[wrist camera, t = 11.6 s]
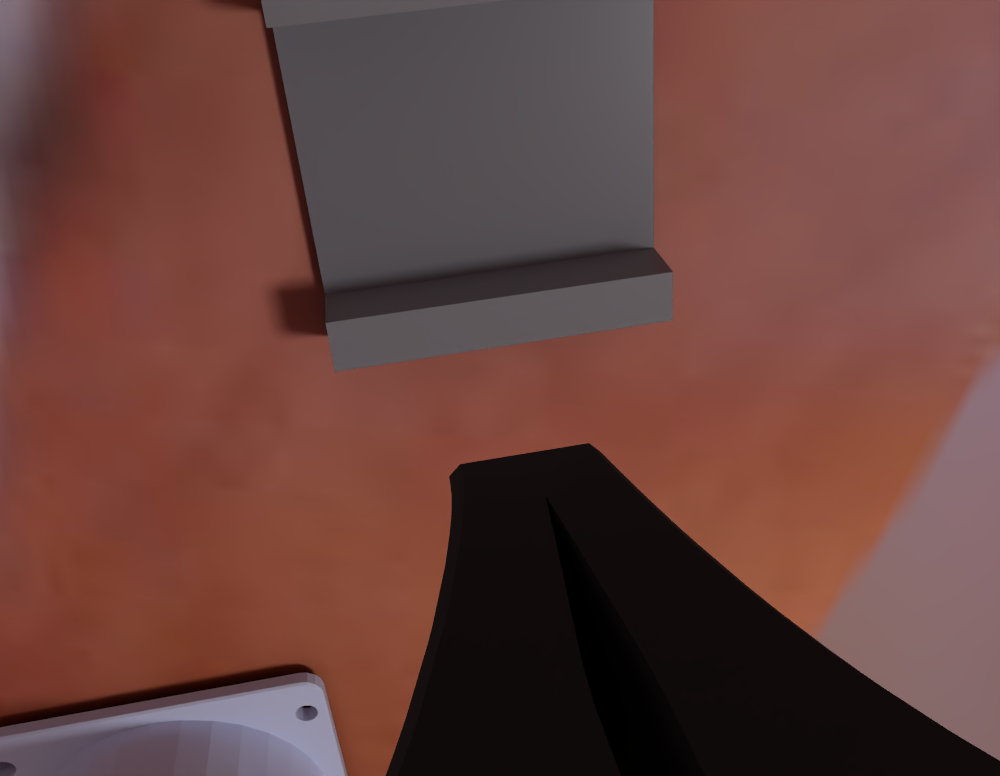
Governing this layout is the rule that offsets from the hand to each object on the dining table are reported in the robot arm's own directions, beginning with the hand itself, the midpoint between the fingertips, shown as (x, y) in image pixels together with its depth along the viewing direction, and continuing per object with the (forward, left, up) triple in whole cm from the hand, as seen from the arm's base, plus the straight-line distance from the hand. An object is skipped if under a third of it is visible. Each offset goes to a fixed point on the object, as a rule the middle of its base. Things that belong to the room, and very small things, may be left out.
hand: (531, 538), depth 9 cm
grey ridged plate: (+1, -1, -10) cm, 10 cm away
